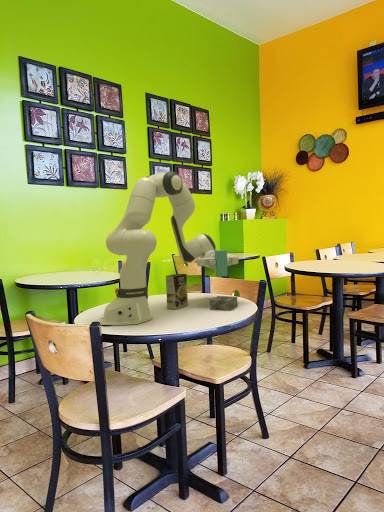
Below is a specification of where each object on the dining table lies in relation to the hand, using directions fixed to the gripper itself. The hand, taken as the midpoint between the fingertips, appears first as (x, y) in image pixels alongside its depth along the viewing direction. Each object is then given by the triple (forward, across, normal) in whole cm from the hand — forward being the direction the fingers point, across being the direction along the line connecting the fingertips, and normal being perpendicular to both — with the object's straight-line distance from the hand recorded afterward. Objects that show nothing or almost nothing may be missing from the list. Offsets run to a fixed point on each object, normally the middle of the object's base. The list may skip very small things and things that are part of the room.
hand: (221, 262), depth 185 cm
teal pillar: (-1, 0, +6) cm, 7 cm away
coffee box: (-12, -20, +22) cm, 32 cm away
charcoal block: (0, 0, +22) cm, 22 cm away
